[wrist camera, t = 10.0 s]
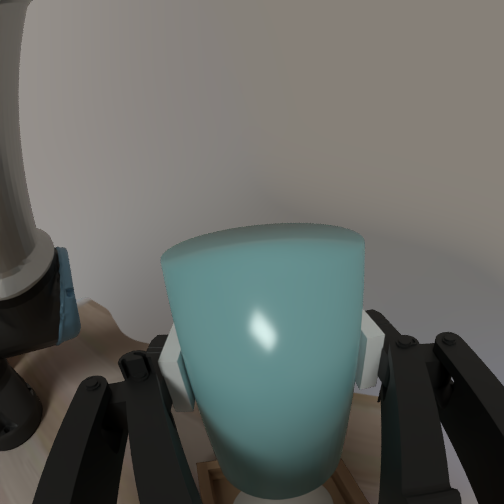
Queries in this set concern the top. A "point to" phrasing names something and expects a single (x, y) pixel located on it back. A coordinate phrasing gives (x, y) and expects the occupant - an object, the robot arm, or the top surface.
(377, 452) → the top surface
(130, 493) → the top surface
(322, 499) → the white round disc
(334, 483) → the walnut tray
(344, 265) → the teal cylinder
